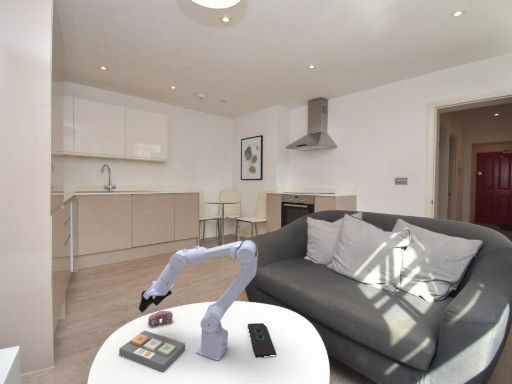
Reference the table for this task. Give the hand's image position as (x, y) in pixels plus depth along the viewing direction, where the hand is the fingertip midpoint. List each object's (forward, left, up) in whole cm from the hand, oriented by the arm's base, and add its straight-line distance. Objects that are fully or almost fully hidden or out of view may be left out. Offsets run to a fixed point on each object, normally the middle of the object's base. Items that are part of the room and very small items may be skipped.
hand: (148, 307), depth 99 cm
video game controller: (+4, -13, -14) cm, 20 cm away
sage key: (-12, +3, -12) cm, 17 cm away
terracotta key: (0, +3, -12) cm, 12 cm away
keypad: (-6, +3, -14) cm, 16 cm away
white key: (-6, +3, -12) cm, 14 cm away
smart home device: (-39, -21, -15) cm, 46 cm away
